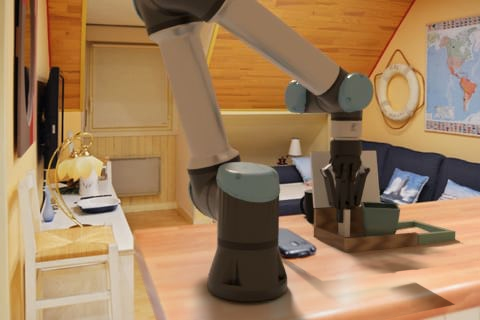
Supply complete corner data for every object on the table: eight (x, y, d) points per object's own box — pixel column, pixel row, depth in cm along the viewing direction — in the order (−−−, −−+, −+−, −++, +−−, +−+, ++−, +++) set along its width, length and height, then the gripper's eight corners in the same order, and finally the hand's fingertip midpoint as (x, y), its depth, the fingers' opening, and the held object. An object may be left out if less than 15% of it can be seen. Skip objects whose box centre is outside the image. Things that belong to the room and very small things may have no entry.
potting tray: (418, 244, 112) (418, 234, 112) (380, 232, 125) (380, 223, 125) (455, 241, 116) (455, 231, 116) (414, 229, 129) (415, 220, 129)
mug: (341, 226, 133) (342, 191, 132) (321, 230, 127) (322, 194, 126) (310, 219, 142) (310, 187, 141) (289, 223, 136) (290, 189, 135)
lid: (311, 151, 119) (309, 151, 119) (315, 208, 117) (313, 208, 118) (376, 150, 126) (374, 151, 126) (380, 204, 124) (378, 204, 125)
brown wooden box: (346, 252, 104) (347, 219, 104) (313, 237, 118) (314, 208, 118) (417, 245, 111) (418, 214, 111) (378, 232, 125) (379, 204, 125)
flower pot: (399, 245, 111) (400, 208, 111) (362, 243, 113) (362, 207, 112) (395, 237, 120) (396, 202, 119) (360, 235, 122) (360, 201, 121)
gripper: (330, 139, 105) (328, 241, 107) (378, 139, 110) (375, 237, 111) (314, 138, 112) (312, 234, 114) (359, 138, 117) (357, 230, 118)
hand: (343, 235), depth 113 cm, fingers closed
